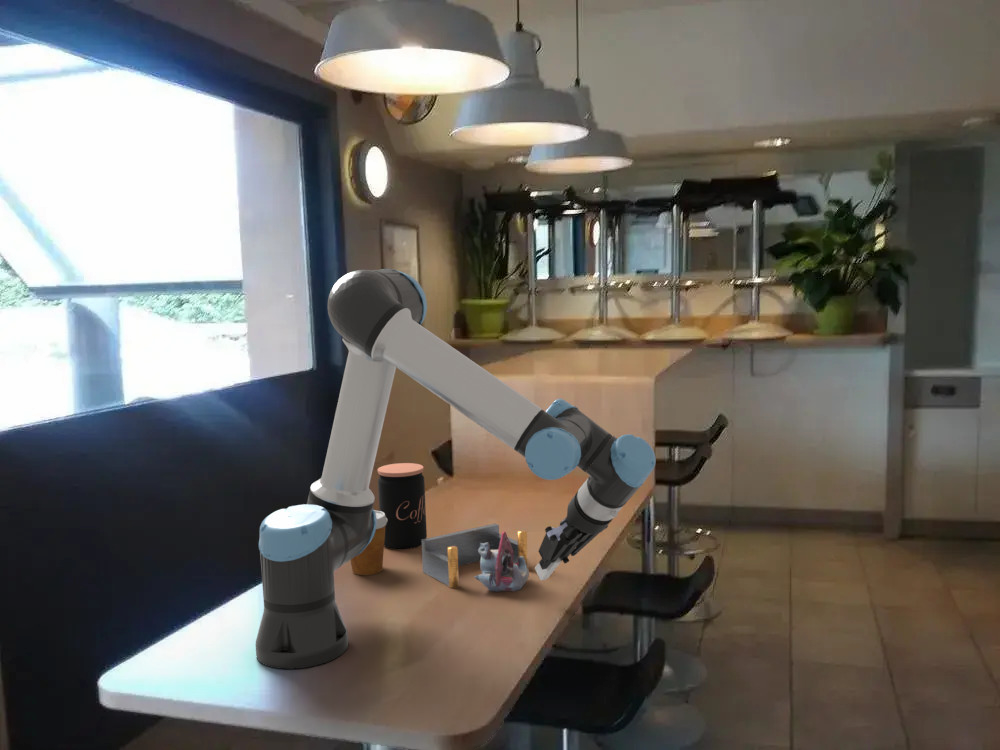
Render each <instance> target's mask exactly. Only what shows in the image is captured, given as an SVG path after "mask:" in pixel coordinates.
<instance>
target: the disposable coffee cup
mask: <svg viewBox="0 0 1000 750" xmlns="http://www.w3.org/2000/svg"><path fill="white" fill-rule="evenodd" d="M373 510H374V511H375V513H376V518H377V525H376V531H375V534H374V536H373V538H372V540H371V542H370V543H369V544H368V545H367V547H366V548H365V549H364V550H363V551H362V552H361V553H360V554H359V555H357V556H355V557H354V558H352V559H351V560H349V562H350V565H351V571H352V573H353V574H355V575H358V576H371V575H376V574H379V573H381V572H382V571H383V564H384V563H383V562H384V549H385V546H384V539H385V526H386V522H387V518H386V516H385V513H384V512H382V511H379V510H375V509H373Z"/></svg>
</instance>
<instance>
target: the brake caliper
mask: <svg viewBox="0 0 1000 750" xmlns="http://www.w3.org/2000/svg"><path fill="white" fill-rule="evenodd" d="M508 538H509V536H508V534H507V532H506V531H502V532H501V540H500V545H499V550H490V549H489V548H490V545H489V543H485V544H484V543H480V545H481V546H480V548H479V550H478V552H479V554H481V559H480V561H479V566H480V572H481V574H478V575H477V574H476V575H474V578H475V579H476V580H477V581H479V582H480V583H481V584H482V585H483V586H484V587H486V588H487V589H488V590H489V591H490V592H496V593H497V592H498V593H499V592H502V591H503V592H504V591H505V592H517V591H521V589H522V588H523V586H524V585H525V584H526V583H527V581H528V579H529V577H530V573H529V567H528V568H527V565H526V562H525V559H524V557H523V556H519V559H518V563H513V549H512V546H511V544H510V541H509V539H508ZM505 550H506V551H508V554H507V553H505Z"/></svg>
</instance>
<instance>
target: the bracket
mask: <svg viewBox="0 0 1000 750" xmlns="http://www.w3.org/2000/svg"><path fill="white" fill-rule="evenodd" d="M516 533H517V540H515V539H513V538H511V537H508V539H509V541H510V544H511V546H512V549H513V563H518V559H519V556H523V557H524V559H525V562H526V565H527V568H528V569H529V550H528V531H527V530H526V529H519V530H517V532H516ZM501 535H502V533H500V524H498V523H491V524H487V525H482V526H478V527H473V528H469V529H464V530H459V531H456V532H455V531H454V532H451V533H450V532H449V533H447V534H446V533H445V534H441V535H437V536H432V537H427V538H426V539H422V545H421V556H422V562H421V563H422V573H424V574H425V575H428V576H429V577H432V578H433V579H435V580H437V581H439V582H441V583H442V584H444V585H446V586H448V587H449V588H450V589H457V588H459V587H460V581H459V580H460V577H459V567H461V566H465V565H468V564H473V563H476V562H480V559H481V554H479V552H478V550H479V548H480V546H481V545H480V543H484V544H485V543H489V545H490V548H489V549H490V550H499V545H500V540H501ZM505 553H507V554H508V551H506V550H505Z"/></svg>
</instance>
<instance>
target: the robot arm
mask: <svg viewBox="0 0 1000 750" xmlns="http://www.w3.org/2000/svg"><path fill="white" fill-rule="evenodd" d="M427 303H428V302H427V297H426V294H425V291H424V289H423V288H422V286H421V284H420V283H419V281H417V280H416V279H415V278H414V277H413V276H411V275H410V274H408V273H405V272H403V271H400V270H396V269H391V268H382V269H371V270H369V269H358V270H354V271H350V272H348V273H346V274H344V275H343V276H342V277H340V278H339V279H338V280H337V281H336V282H335V283H334V285H333V286H332V288H331V289H330V293H329V294H328V299H327V315H328V318H329V321H330V322H331V325H332V326H333V328H334V329H335V330H336V332H337V333H338V334H339V335H340V336H341V337H342V342H343V344H344V345H345V346H346V348H347V350H348V355H347V358H346V363H345V368H344V372H343V375H342V376H343V377H342V381H341V386H340V391H339V395H338V396H339V397H338V399H337V401H338V402H337V405H336V408H335V413H334V419H333V423H332V426H331V427H332V428H331V433H330V438H329V442H328V445H327V446H328V447H327V452H326V456H325V460H324V465H323V470H322V475H321V477H320V478H319V479H318V480H316V481H314V482H313V483H311V485H310V488H309V489H310V490H309V492H308V493H309V494H308V497H307V502H306V504H297V505H291V506H288V507H287V508H280V509H277V510H275V511H273V512H272V513H270V514H269V515H267V516H266V517H265V518H264V519H263V520H262V521H261V523H260V526H259V540H258V550H259V556H260V567H261V568H260V570H261V582H262V584H261V585H262V595H263V596H262V598H263V612H262V616H261V620H260V625H259V628H258V632H257V636H256V639H255V656H257V657H256V659H257V658H258V659H257V661H258V660H259V661H261V662H262V663H264V664H266V665H265V666H267V665H268V666H267V667H270V666H272V667H271V668H274V667H276V669H282V668H286V669H287V668H288V669H289V668H290V669H294V670H296V669H302V668H303V669H304V668H310V667H314V666H319V665H322V664H326V663H328V662H331V661H333V660H335V659H336V658H338V657H340V656H342V654H344V653H345V652H346V651H347V650H348V647H349V637H348V636H349V635H348V629H347V626H346V624H345V622H344V619H343V617H342V614H341V612H340V609H339V607H338V604H337V602H336V593H335V574H334V572H335V571H337V570H338V569H339V568H341V567H342V566H344V565H345V564H347V563H348V562H350V560H351V559H352V558H354V557H355V556H357V555H359V554H360V553H361V552H362V551H363V550H364V549H365V548H366V547H367V545H368V544H369V543H370V542H371V540H372V538H373V536H374V534H375V531H376V525H377V518H376V513H375V511H374V510H375V509H374V508H373V507H374V504H375V500H376V499H375V495H374V493H373V492H372V490H371V489H370V483H371V479H372V474H373V470H374V466H375V462H376V457H377V453H378V449H379V444H380V440H381V435H382V432H383V425H384V421H385V419H386V413H387V410H388V409H387V408H388V405H389V400H390V396H391V393H392V392H391V391H392V387H393V383H394V378H395V374H396V370H397V369H398V370H400V372H402V373H404V375H405V374H406V376H408V377H409V378H411V379H412V380H413V381H415V382H417V383H418V384H420V385H421V386H422V387H424V388H425V389H426V390H428V391H430V392H431V393H432V394H434V395H435V396H436V397H438V398H440V399H441V400H442V401H443V402H446V404H447V405H449V406H451V407H452V408H454V409H455V410H456V411H459V412H460V413H461V414H462V415H464V416H465V417H466V418H468V419H469V420H471V421H472V422H474V423H475V424H477V425H478V426H479V427H481V428H483V429H484V430H485V431H487V432H489V434H491V435H493V436H494V437H495V438H496V439H498V440H499V441H500V442H503V443H504V444H505V445H507V446H508V447H510V448H511V449H513V450H514V451H516V452H517V453H518V454H520V455H521V456H522V457H523V458H525V462H526V464H527V467H528V468H529V470H530V471H531V472H532V473H533V474H534V475H535V476H537V477H538V478H540V479H543V480H547V481H554V480H559V479H561V478H563V477H565V476H566V475H569V474H571V473H572V471H574V470H575V469H576V468H579V469H580V470H582V471H583V472H584V473H586V474H587V475H588V477H587V479H586V480H585V481H584V482H583V484H582V485H581V486H580V488H579V489H578V491H577V492H576V493H575V494H574V496H573V497H572V498H571V499H570V501H569V502H568V504H567V511H566V517H565V518H564V519H562V520H561V521H560V522H559V526H557V527H554V526H553V527H552V526H549V525H548V526H547V527H546V528H545V529H544V531H545V535H544V537H543V539H542V542H541V544H540V547H539V548H538V554H539V556H540V557H541V559H540V561H539V562H538V563H537V564H536V565H535V567H534V571H535V573H536V574H537V576H538V578H539V580H540V581H545V580H548V579H549V578H550V577H551V575H552V574H553V572H554V571H555V570H556V569H557V567H558V566H559V565H560V564H561V562H563V563H564V564H567V563H569V562H570V560H569V557H570V555H571V557H575V556H576V555H577V554H578V553H579V552H580V551H581V550H582V549H584V547H586V546H587V545H588V544H589V543H590V542H591V541H592V540H594V539H595V538H596V536H598V535H599V534H600V533H602V532H603V531H604V530H607V529H608V527H609V525H610V524H611V522H612V521H613V520H614V518H616V517H618V515H619V512H620V511H621V510H622V508H623V507H624V506H625V505H626V503H628V501H630V499H632V497H633V496H634V495H635V493H636V492H637V491H638V490H639V489H640V488H641V487H642V486H643V485H644V483H645V481H646V480H647V478H648V477H649V476H650V475H651V473H652V472H653V471H654V468H655V466H656V459H657V458H656V454H655V451H654V450H653V448H652V445H650V444H649V442H647V441H646V440H645V439H643V438H642V437H640V436H635V435H634V434H631V433H627V434H622V435H621V436H619V437H618V438H617V437H616V436H615V435H612V433H610V432H608V431H607V430H605V429H604V428H603V427H601V426H600V425H599V424H598V423H597V422H595V421H594V420H592V419H591V418H590V417H589V416H587V415H586V414H585V413H584V412H582V411H581V410H580V409H579V408H578V407H577V406H574V405H573V404H571V403H570V402H568V401H567V400H565V399H563V398H557V399H555V400H554V401H553V402H552V403H551V404H550V405H549V406H548V408H547V409H546V410H544V409H543V408H541V407H540V406H539V405H537V404H536V403H534V402H533V401H531V400H530V399H528V398H527V397H525V396H524V395H522V394H521V393H520V392H518V391H517V390H515V389H514V388H513V387H511V386H509V385H508V384H507V383H506V382H504V381H502V380H501V379H500V378H498V377H497V376H495V375H494V374H492V373H491V372H489V371H488V370H486V369H485V368H484V367H482V366H480V365H479V364H478V363H476V362H475V361H473V360H472V359H470V358H469V357H468V356H466V355H465V354H463V353H461V352H460V351H459V350H457V349H456V348H454V347H453V346H451V345H450V344H449V343H447V342H446V341H445V340H443V339H441V338H440V337H438V336H437V335H436V334H434V333H433V332H431V331H430V330H429V329H427V328H425V327H424V326H422V324H423V322H424V321H425V319H426V315H427V312H428V311H427V310H428V304H427ZM259 661H258V662H259ZM261 662H260V663H261ZM262 663H261V664H262ZM264 664H263V665H264ZM318 664H319V665H318ZM295 668H296V669H295ZM286 669H285V670H286ZM290 669H289V670H290Z"/></svg>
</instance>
